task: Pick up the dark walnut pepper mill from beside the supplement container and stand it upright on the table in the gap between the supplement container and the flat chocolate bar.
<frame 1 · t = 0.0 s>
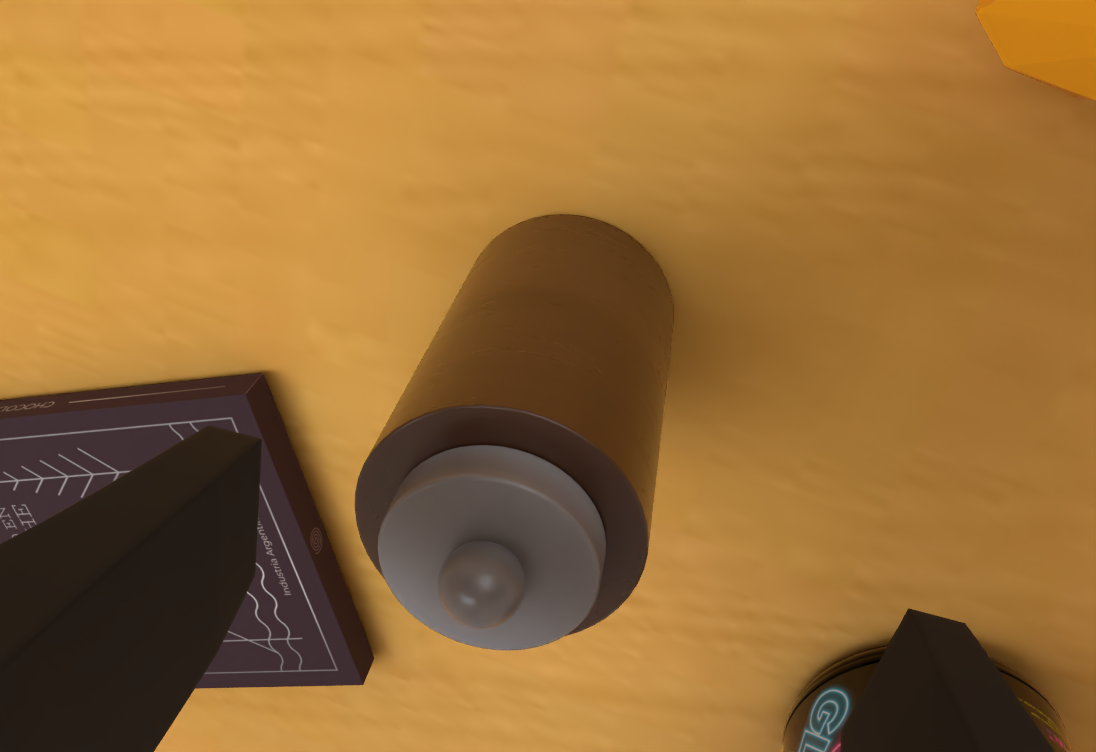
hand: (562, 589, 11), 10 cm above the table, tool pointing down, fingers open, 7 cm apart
supplement container: (914, 719, 25), on the table
chocolate bar: (26, 541, 27), on the table
pepper mill: (568, 313, 20), on the table
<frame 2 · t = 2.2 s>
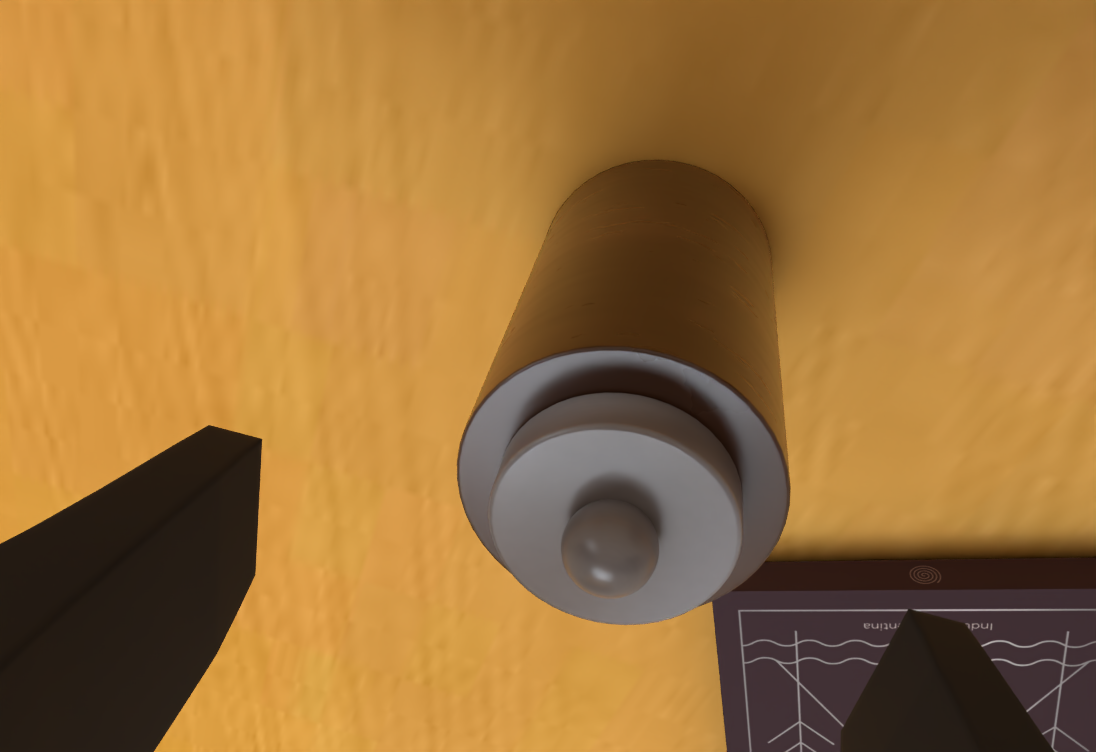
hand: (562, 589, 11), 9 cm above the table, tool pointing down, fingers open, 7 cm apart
pepper mill: (655, 269, 19), on the table
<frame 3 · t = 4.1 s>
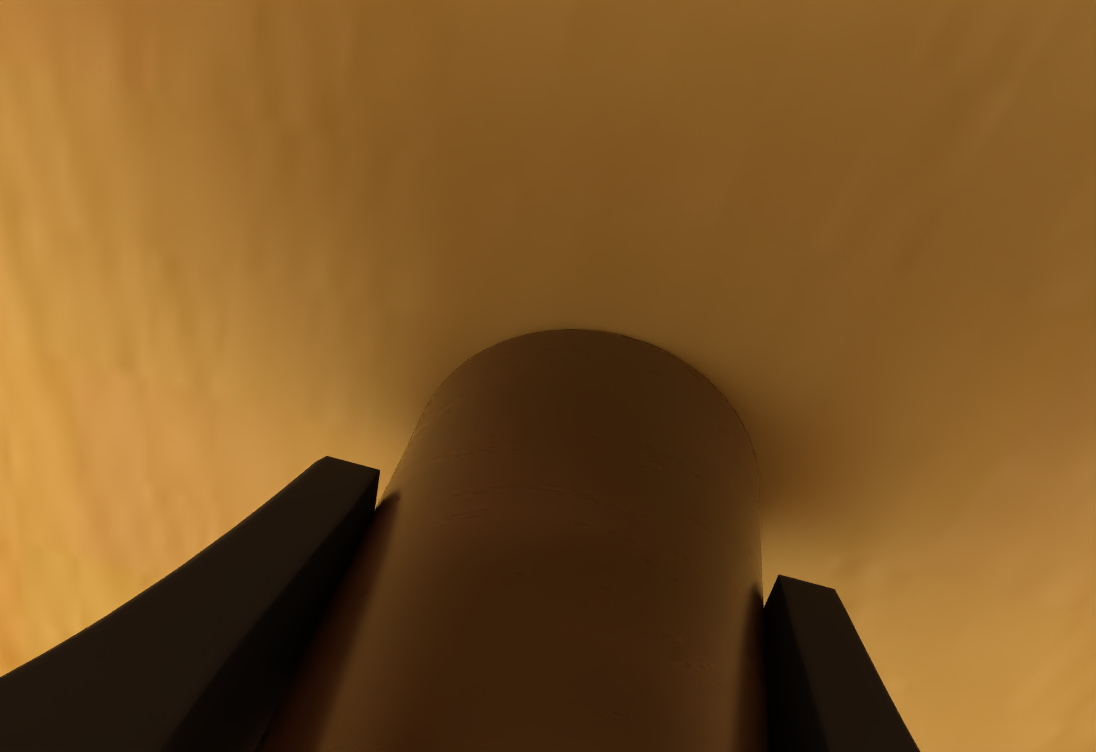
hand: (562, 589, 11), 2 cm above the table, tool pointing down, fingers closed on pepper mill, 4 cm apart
pepper mill: (583, 480, 13), on the table, touching gripper
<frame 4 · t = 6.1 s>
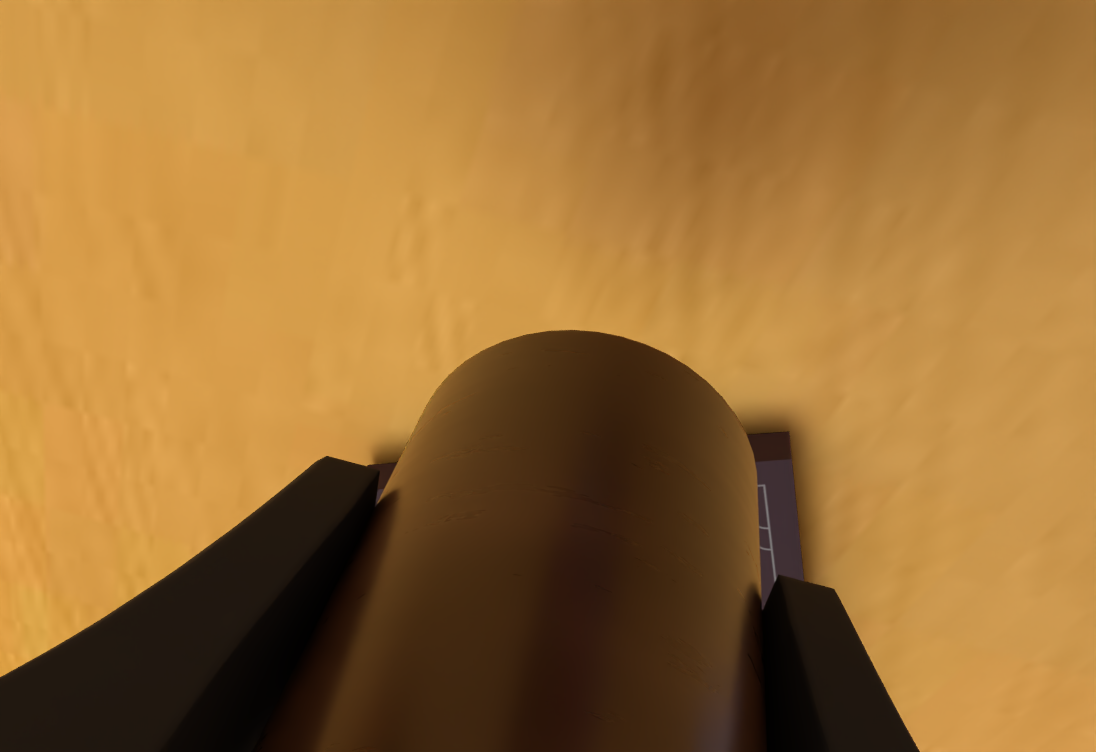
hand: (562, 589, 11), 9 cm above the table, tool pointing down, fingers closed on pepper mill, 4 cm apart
chocolate bar: (636, 737, 25), on the table
pepper mill: (581, 481, 13), point 7 cm above the table, touching gripper
when the fingers open (2 cm above the table, at t = 8.2 s): pepper mill stays where it is, on the table.
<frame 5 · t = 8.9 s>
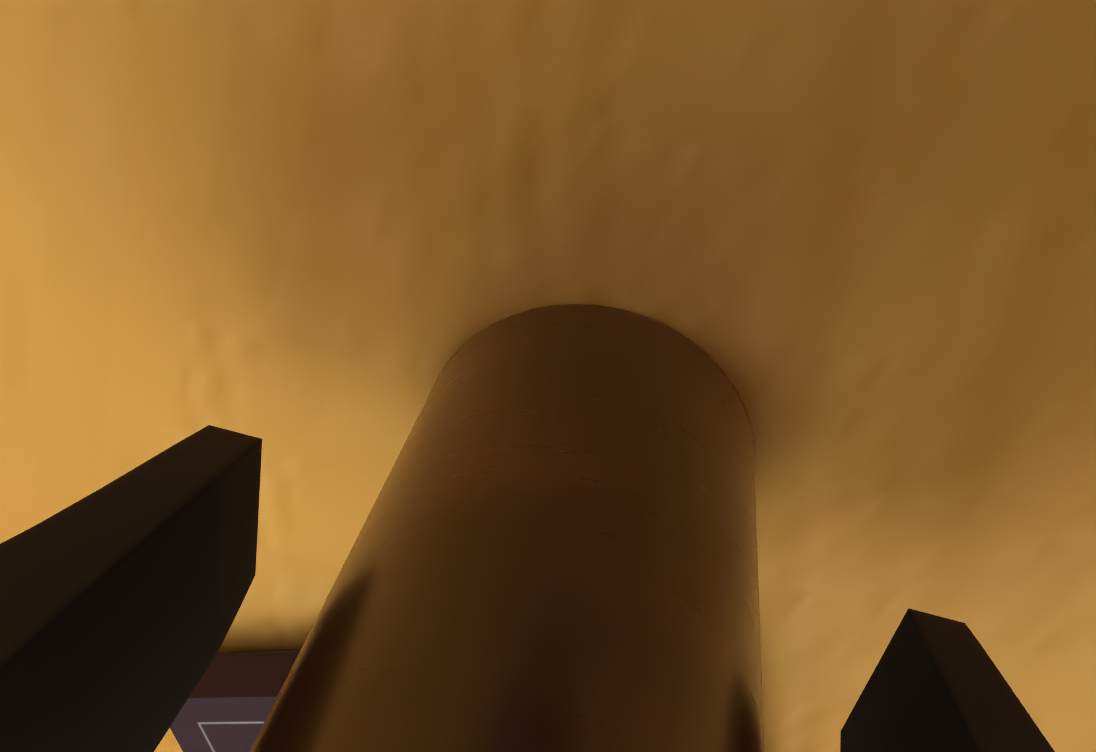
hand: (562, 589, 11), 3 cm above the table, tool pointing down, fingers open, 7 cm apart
pepper mill: (586, 451, 13), on the table
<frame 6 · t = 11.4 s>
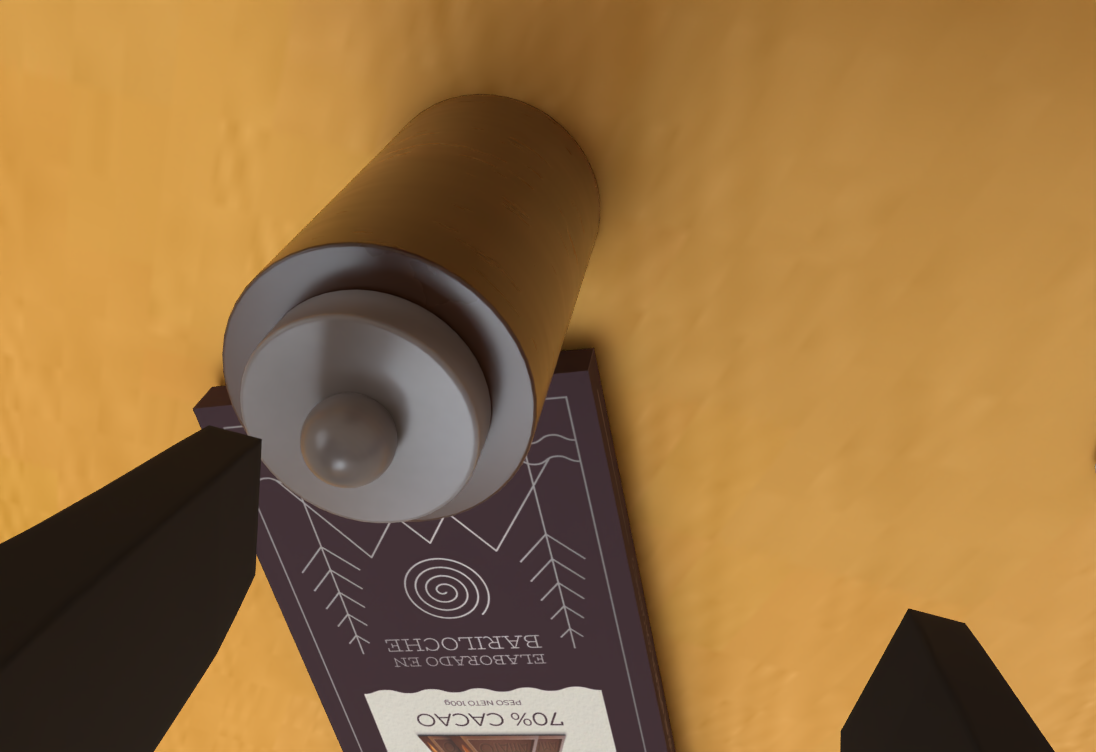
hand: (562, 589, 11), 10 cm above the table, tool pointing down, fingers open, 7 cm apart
chocolate bar: (488, 658, 26), on the table
pepper mill: (489, 205, 19), on the table
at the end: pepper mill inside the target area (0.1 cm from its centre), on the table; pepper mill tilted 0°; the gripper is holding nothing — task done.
